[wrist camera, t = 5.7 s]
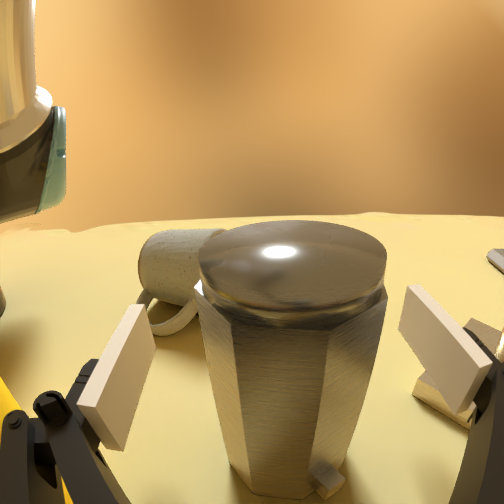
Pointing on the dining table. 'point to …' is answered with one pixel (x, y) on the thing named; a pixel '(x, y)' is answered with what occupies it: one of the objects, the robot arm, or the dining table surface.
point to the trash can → (290, 347)
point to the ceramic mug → (172, 273)
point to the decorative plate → (496, 258)
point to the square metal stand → (427, 391)
